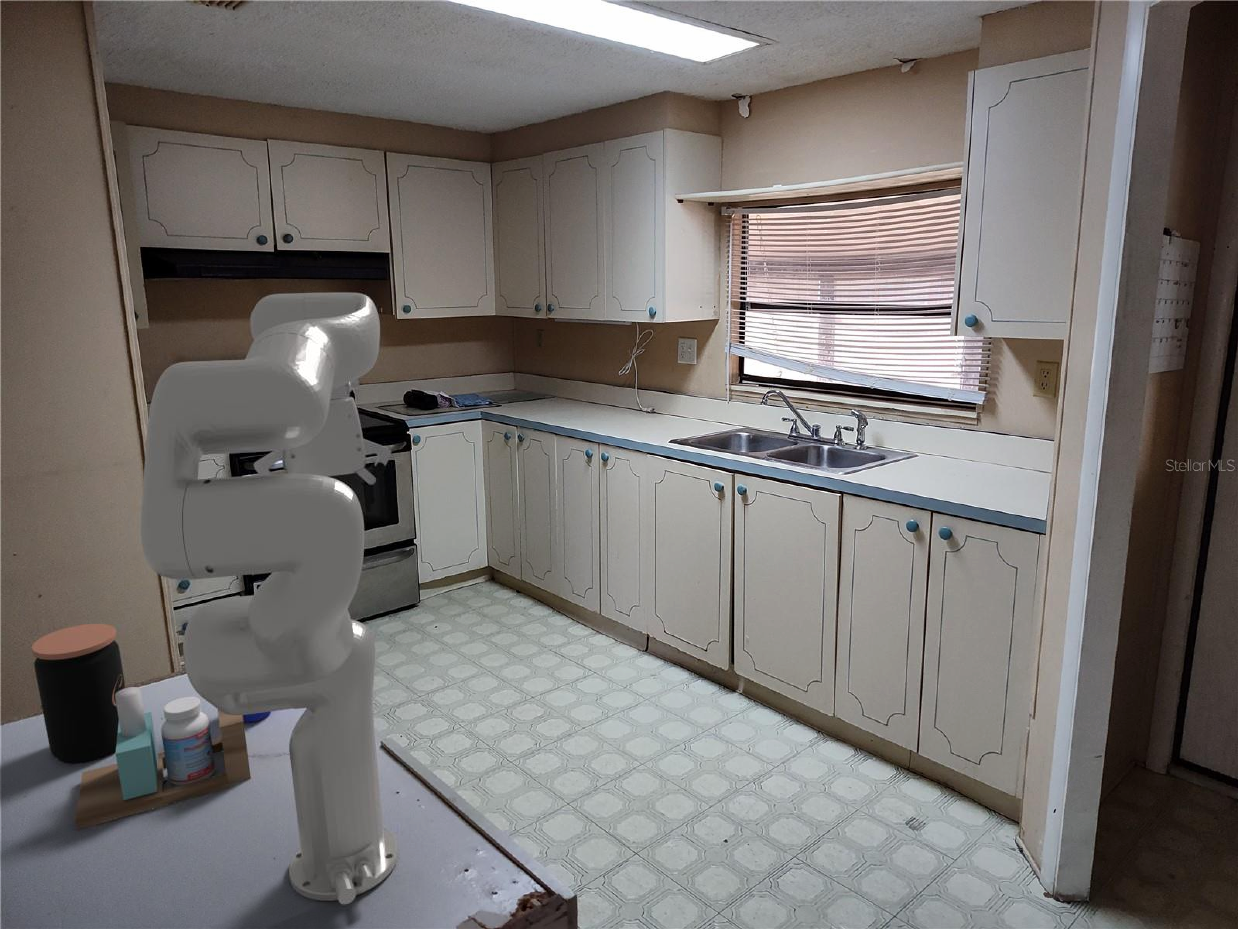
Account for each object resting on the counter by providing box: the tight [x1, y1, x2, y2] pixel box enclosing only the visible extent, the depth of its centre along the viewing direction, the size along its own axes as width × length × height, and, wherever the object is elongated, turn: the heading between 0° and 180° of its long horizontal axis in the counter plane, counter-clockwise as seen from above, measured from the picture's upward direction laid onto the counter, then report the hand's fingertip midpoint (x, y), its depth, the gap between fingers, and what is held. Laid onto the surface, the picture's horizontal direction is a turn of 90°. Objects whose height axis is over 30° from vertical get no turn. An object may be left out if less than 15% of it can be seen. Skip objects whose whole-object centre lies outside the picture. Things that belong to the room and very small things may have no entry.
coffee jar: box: [30, 623, 127, 765], centre depth 124 cm, size 11×11×18 cm
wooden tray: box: [74, 709, 252, 831], centre depth 116 cm, size 12×21×9 cm, turn 118°
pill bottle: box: [160, 696, 216, 786], centre depth 117 cm, size 6×6×11 cm
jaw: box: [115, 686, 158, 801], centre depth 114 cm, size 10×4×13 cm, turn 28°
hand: (330, 516), depth 111 cm, fingers open, 9 cm apart
